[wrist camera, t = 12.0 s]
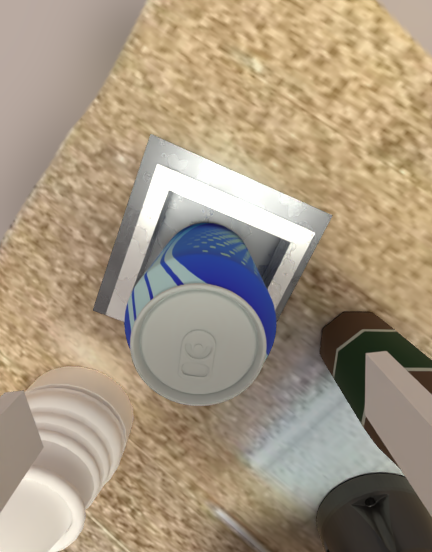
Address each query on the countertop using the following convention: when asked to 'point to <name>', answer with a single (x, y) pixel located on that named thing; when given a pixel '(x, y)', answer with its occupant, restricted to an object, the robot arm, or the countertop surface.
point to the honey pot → (66, 457)
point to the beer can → (200, 318)
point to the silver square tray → (207, 209)
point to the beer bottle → (352, 359)
